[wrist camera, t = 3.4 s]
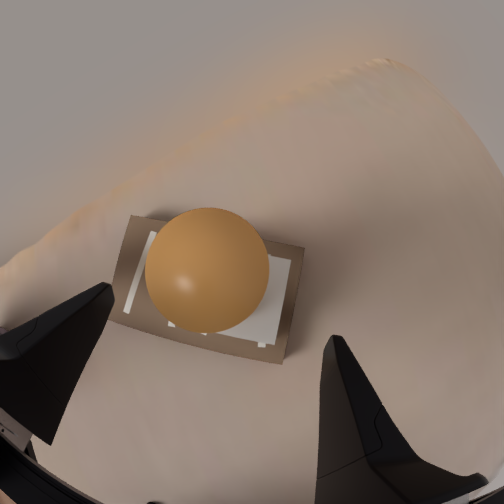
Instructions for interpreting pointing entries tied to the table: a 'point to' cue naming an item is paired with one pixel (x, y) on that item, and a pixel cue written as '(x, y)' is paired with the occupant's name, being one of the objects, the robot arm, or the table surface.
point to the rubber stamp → (216, 276)
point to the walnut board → (153, 322)
